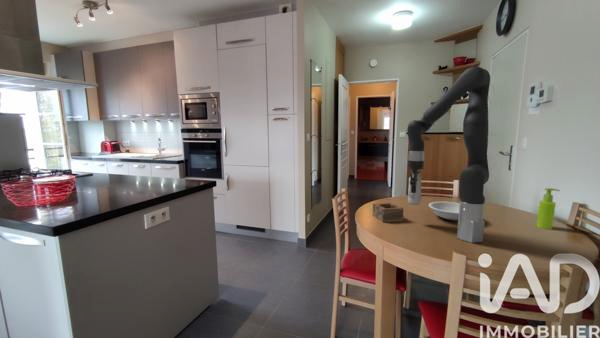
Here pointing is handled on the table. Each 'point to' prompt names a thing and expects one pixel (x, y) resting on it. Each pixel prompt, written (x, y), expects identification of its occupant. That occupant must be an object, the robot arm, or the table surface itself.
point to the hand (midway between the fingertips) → (414, 191)
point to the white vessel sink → (446, 209)
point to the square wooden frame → (387, 212)
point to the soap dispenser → (546, 210)
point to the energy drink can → (415, 197)
